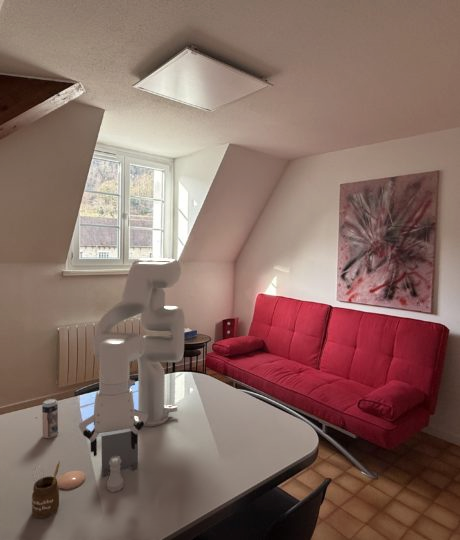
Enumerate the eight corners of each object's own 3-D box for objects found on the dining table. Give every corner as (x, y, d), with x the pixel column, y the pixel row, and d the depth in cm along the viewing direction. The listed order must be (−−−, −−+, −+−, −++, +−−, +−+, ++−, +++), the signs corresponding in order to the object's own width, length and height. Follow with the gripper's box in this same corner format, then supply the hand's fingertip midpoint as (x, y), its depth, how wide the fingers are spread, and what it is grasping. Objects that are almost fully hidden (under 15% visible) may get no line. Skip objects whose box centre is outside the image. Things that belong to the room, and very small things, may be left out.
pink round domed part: (84, 470, 105) (84, 468, 105) (85, 485, 98) (85, 483, 98) (58, 475, 102) (57, 473, 102) (56, 491, 96) (56, 489, 96)
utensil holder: (38, 501, 92) (38, 456, 91) (64, 501, 92) (63, 455, 92) (27, 519, 86) (26, 470, 85) (54, 518, 87) (53, 470, 86)
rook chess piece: (108, 481, 100) (108, 453, 100) (125, 481, 100) (125, 453, 100) (104, 493, 96) (104, 463, 95) (122, 492, 96) (121, 463, 95)
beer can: (51, 440, 121) (51, 404, 120) (39, 438, 122) (38, 403, 121) (61, 432, 125) (60, 398, 125) (49, 431, 126) (48, 397, 125)
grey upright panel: (136, 459, 110) (136, 424, 110) (138, 469, 106) (138, 432, 105) (101, 467, 107) (101, 430, 106) (102, 477, 102) (102, 439, 101)
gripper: (145, 378, 103) (144, 437, 103) (79, 385, 96) (79, 449, 97) (150, 387, 96) (149, 451, 97) (79, 396, 89) (78, 464, 90)
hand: (114, 450), depth 97 cm, fingers open, 9 cm apart
